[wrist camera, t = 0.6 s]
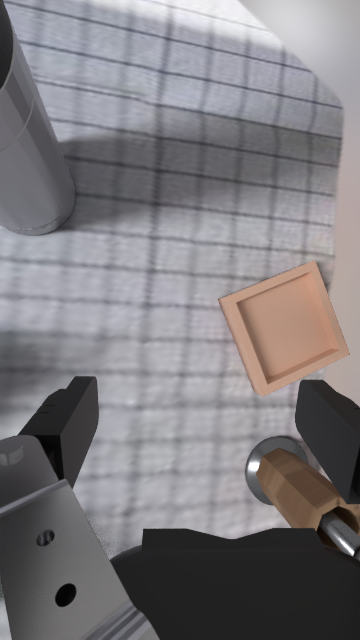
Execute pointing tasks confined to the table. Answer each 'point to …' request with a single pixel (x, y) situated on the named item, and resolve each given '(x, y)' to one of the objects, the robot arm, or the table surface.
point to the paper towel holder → (329, 520)
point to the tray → (284, 327)
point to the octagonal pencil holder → (303, 493)
